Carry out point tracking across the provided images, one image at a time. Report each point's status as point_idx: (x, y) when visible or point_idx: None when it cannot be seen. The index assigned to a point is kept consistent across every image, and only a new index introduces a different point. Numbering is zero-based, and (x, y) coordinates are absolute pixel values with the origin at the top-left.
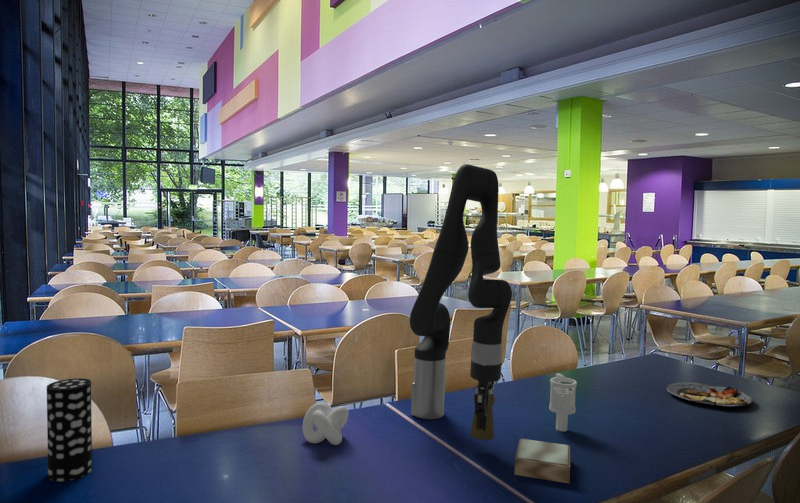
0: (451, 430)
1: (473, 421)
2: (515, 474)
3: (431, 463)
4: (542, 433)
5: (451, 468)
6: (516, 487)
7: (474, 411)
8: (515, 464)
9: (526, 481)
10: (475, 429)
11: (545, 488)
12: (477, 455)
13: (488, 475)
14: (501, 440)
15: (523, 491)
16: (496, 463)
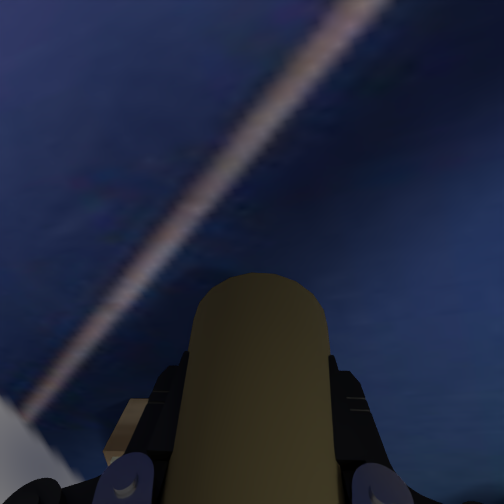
0: (492, 83)
1: (213, 351)
2: (130, 401)
3: (30, 100)
4: (498, 449)
5: (45, 204)
6: (58, 407)
7: (231, 422)
8: (114, 431)
9: (109, 425)
10: (192, 338)
11: (100, 460)
12: (216, 277)
13: (79, 335)
14: (399, 339)
15: (49, 421)
16: (181, 346)
